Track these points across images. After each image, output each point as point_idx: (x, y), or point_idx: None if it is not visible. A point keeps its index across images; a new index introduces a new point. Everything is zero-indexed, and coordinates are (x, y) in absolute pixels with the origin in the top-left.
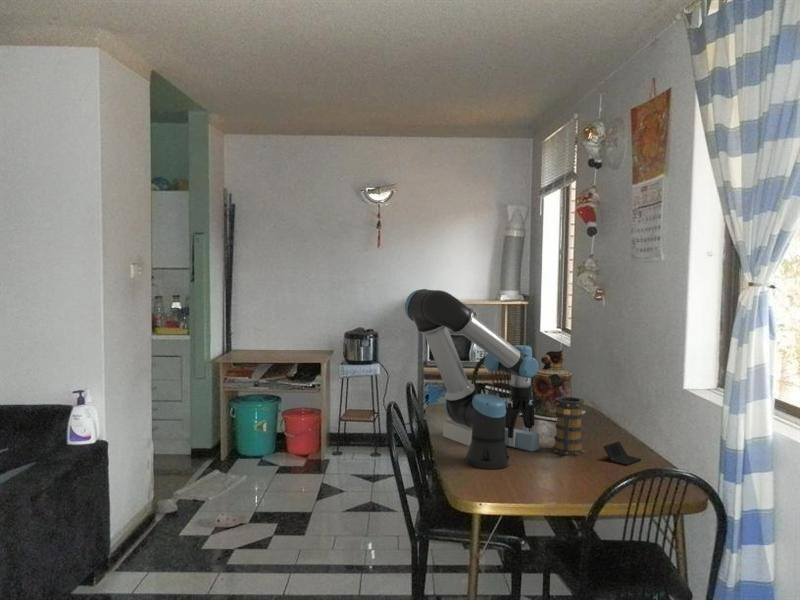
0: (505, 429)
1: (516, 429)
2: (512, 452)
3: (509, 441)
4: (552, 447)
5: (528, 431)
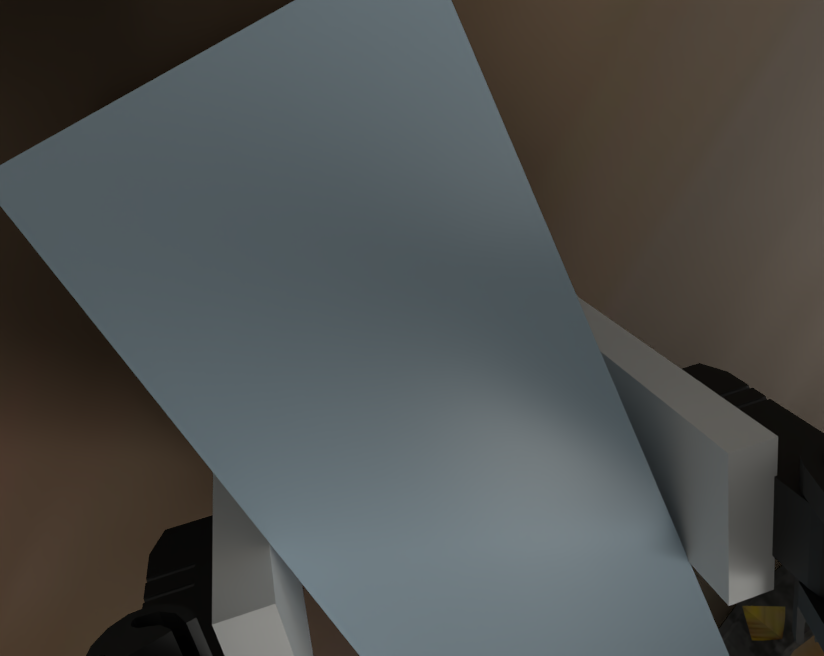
0: (184, 356)
1: (534, 389)
2: None
3: None
4: (755, 622)
5: (683, 599)
